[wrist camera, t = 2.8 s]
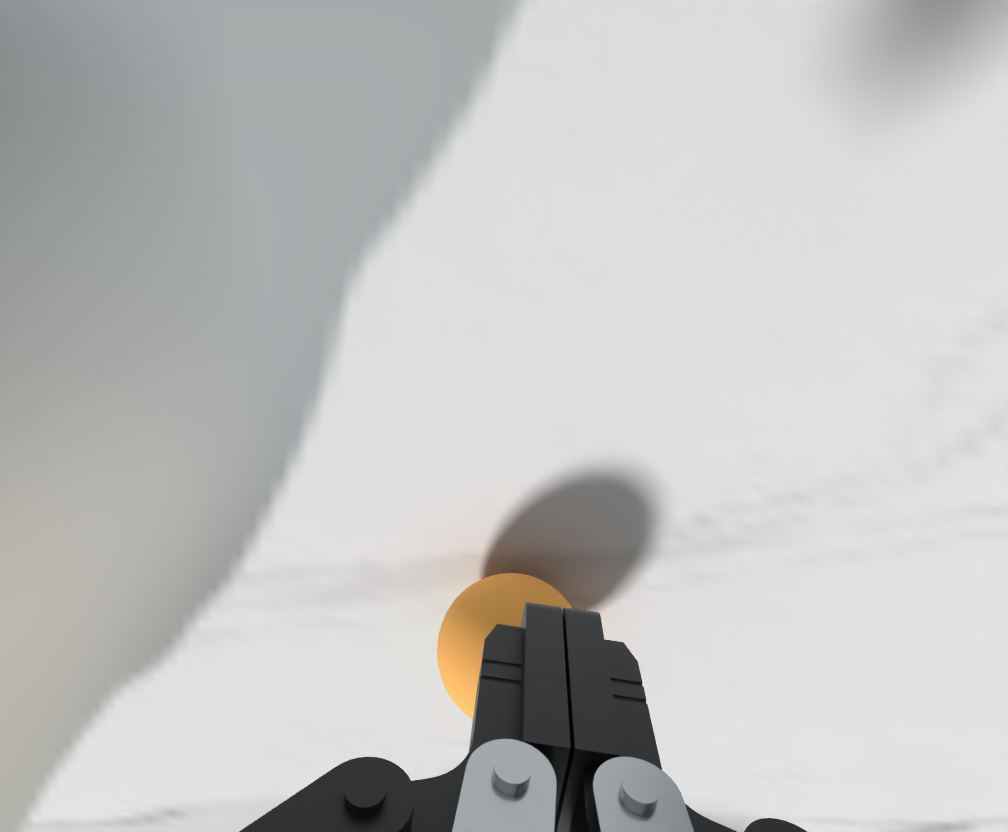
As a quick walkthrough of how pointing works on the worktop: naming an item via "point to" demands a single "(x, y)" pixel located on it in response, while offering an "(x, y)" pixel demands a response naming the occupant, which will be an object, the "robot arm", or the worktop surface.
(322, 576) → the worktop surface
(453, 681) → the ball
